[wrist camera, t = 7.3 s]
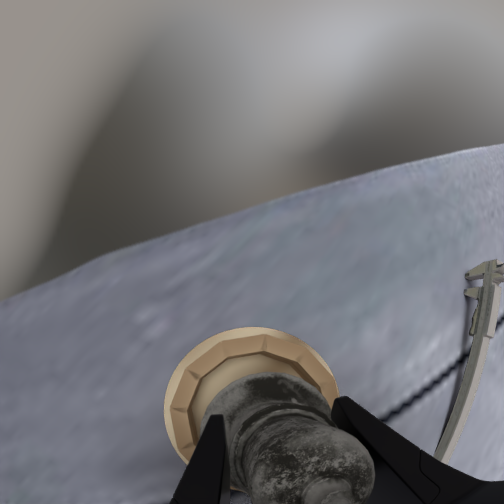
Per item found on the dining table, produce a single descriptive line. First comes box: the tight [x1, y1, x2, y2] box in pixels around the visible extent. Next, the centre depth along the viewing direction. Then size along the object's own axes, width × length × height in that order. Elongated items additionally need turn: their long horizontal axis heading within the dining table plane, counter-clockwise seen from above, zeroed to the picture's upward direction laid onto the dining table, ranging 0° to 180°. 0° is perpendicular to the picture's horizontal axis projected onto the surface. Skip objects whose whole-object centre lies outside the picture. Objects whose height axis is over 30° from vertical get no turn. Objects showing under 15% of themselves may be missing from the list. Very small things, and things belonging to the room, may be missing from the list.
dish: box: [164, 327, 340, 492], centre depth 17 cm, size 12×12×4 cm
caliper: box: [434, 259, 504, 465], centre depth 18 cm, size 20×1×6 cm, turn 161°
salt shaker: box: [199, 372, 375, 504], centre depth 9 cm, size 6×6×12 cm
